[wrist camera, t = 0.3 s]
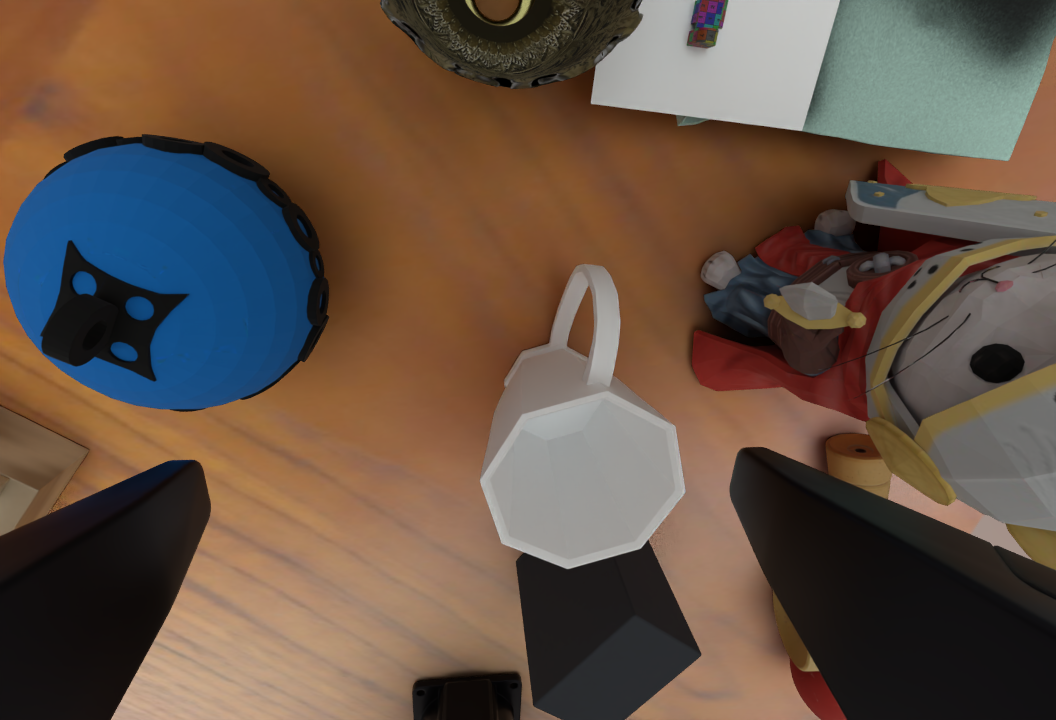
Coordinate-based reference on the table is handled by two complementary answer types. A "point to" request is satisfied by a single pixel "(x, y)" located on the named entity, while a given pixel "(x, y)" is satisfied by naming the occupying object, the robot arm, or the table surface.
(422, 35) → the cup
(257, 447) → the table surface
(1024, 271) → the figurine
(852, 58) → the cloth
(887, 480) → the kendama
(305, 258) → the ornament
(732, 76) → the flat white panel
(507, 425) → the cup
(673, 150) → the table surface
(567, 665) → the black rectangular block
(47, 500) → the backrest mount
